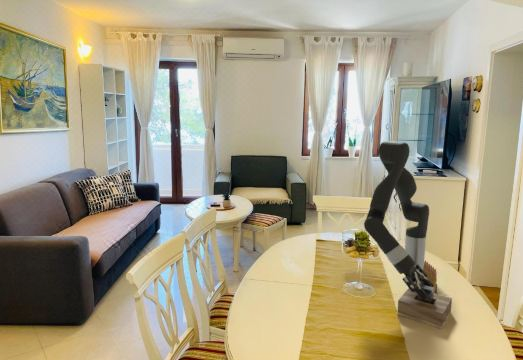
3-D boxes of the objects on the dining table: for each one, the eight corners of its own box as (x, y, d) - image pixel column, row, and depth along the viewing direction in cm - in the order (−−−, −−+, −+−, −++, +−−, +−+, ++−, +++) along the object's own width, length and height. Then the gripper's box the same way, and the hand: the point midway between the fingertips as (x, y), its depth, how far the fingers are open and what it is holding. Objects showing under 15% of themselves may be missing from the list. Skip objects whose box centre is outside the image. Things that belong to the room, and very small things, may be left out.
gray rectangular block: (418, 307, 151) (420, 284, 149) (432, 311, 147) (434, 287, 146) (416, 310, 148) (418, 286, 146) (429, 315, 145) (431, 290, 143)
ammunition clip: (436, 296, 162) (438, 269, 159) (432, 296, 162) (434, 269, 159) (424, 284, 172) (426, 259, 170) (420, 284, 172) (422, 259, 170)
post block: (408, 300, 158) (409, 286, 157) (450, 312, 149) (452, 298, 148) (397, 314, 148) (398, 300, 147) (441, 328, 138) (443, 313, 137)
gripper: (401, 260, 143) (431, 297, 138) (413, 248, 154) (441, 282, 149) (386, 269, 147) (415, 306, 143) (399, 258, 158) (426, 291, 154)
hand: (428, 294), depth 146 cm, fingers open, 8 cm apart
